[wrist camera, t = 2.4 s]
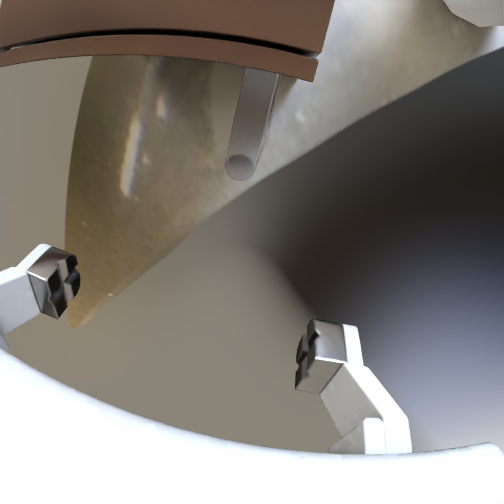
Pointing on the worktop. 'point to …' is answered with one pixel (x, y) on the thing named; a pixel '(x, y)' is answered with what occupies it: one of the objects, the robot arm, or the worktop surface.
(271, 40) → the cupboard
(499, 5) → the cup
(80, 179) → the worktop surface
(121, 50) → the cupboard door
